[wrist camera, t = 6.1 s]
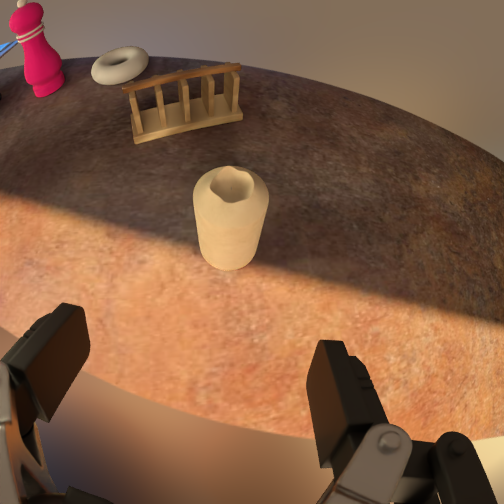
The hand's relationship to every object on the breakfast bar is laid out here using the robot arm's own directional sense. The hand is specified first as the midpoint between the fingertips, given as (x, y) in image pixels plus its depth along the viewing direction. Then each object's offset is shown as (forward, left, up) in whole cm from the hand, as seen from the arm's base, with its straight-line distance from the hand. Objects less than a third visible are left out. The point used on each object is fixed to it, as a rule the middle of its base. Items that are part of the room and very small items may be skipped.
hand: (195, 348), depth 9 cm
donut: (-3, +47, -17) cm, 50 cm away
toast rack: (+5, +30, -17) cm, 34 cm away
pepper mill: (-17, +51, -17) cm, 56 cm away
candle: (+5, +11, -17) cm, 21 cm away
